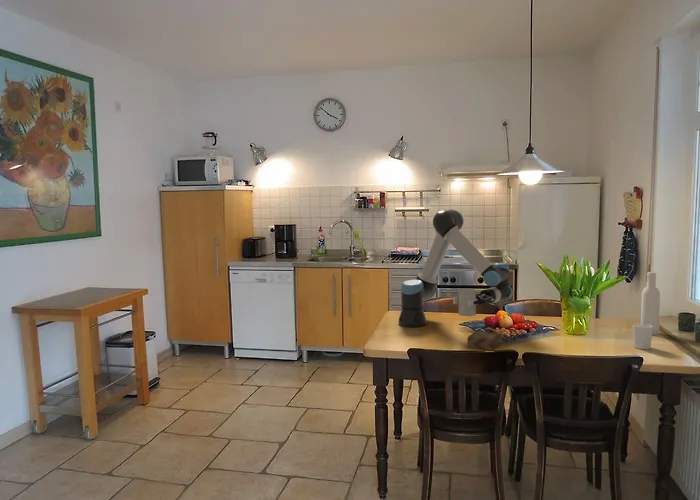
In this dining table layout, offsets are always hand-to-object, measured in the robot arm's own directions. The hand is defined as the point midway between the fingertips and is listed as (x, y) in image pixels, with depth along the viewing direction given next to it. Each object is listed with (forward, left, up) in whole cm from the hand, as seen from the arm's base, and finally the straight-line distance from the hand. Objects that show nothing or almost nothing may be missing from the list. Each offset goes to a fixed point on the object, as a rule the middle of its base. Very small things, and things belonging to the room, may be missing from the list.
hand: (461, 302), depth 249 cm
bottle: (+77, +54, -19) cm, 96 cm away
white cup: (+75, +25, -19) cm, 81 cm away
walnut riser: (+13, -5, -18) cm, 23 cm away
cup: (+2, +4, -7) cm, 8 cm away
